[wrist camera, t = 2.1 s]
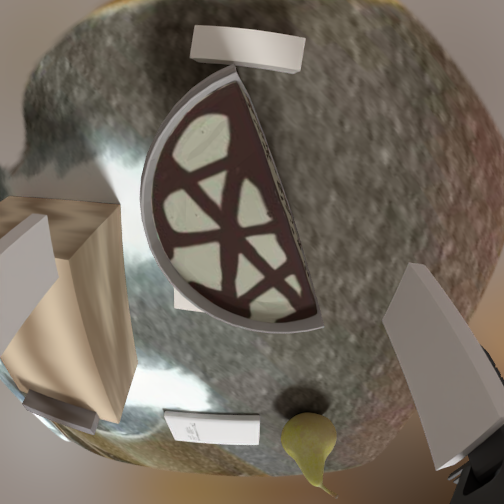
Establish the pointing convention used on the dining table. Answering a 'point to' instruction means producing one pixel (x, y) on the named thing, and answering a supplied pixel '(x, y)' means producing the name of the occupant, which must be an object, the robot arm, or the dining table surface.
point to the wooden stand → (75, 317)
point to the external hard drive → (214, 428)
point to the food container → (225, 213)
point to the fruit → (310, 444)
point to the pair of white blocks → (243, 64)
